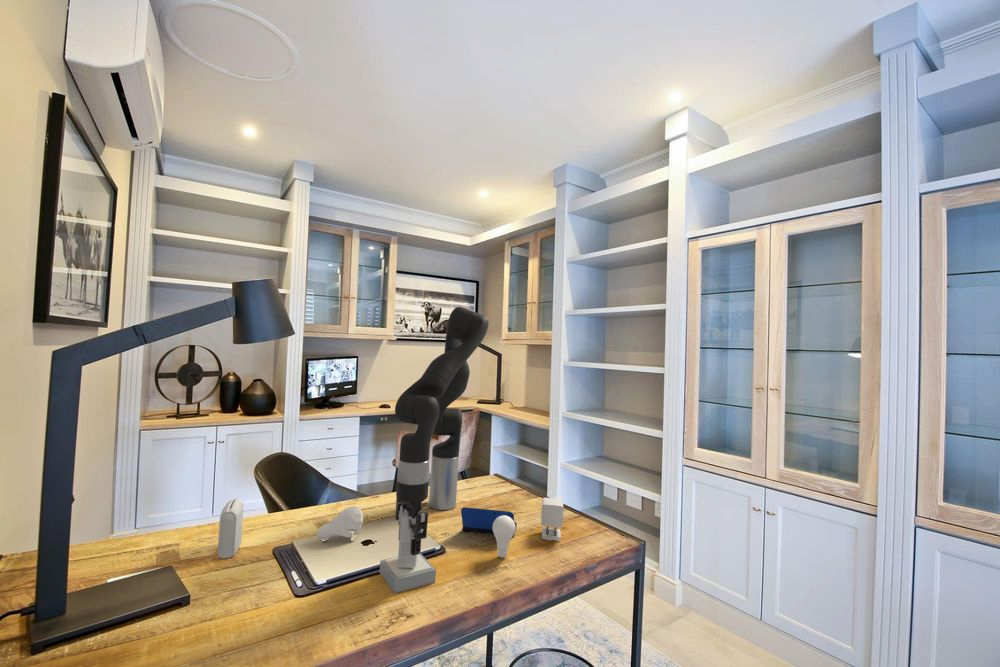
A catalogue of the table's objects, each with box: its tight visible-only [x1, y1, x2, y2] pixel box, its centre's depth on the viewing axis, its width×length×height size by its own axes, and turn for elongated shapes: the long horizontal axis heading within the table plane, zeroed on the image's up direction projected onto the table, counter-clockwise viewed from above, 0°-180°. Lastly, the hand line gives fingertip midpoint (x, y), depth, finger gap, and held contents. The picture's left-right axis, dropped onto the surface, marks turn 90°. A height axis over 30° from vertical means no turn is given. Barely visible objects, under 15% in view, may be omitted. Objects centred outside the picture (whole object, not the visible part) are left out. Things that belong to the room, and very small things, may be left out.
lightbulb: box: [492, 515, 516, 559], centre depth 121 cm, size 6×6×11 cm
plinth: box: [379, 552, 437, 594], centre depth 108 cm, size 10×10×3 cm
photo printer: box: [217, 498, 244, 559], centre depth 116 cm, size 10×4×12 cm, turn 20°
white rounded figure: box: [317, 506, 364, 542], centre depth 126 cm, size 6×8×12 cm
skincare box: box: [397, 511, 418, 568], centre depth 108 cm, size 6×4×12 cm
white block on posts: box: [540, 497, 564, 542], centre depth 136 cm, size 6×7×10 cm
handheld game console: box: [460, 507, 517, 538], centre depth 137 cm, size 16×13×9 cm
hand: (409, 547), depth 108 cm, fingers closed on skincare box, 7 cm apart
